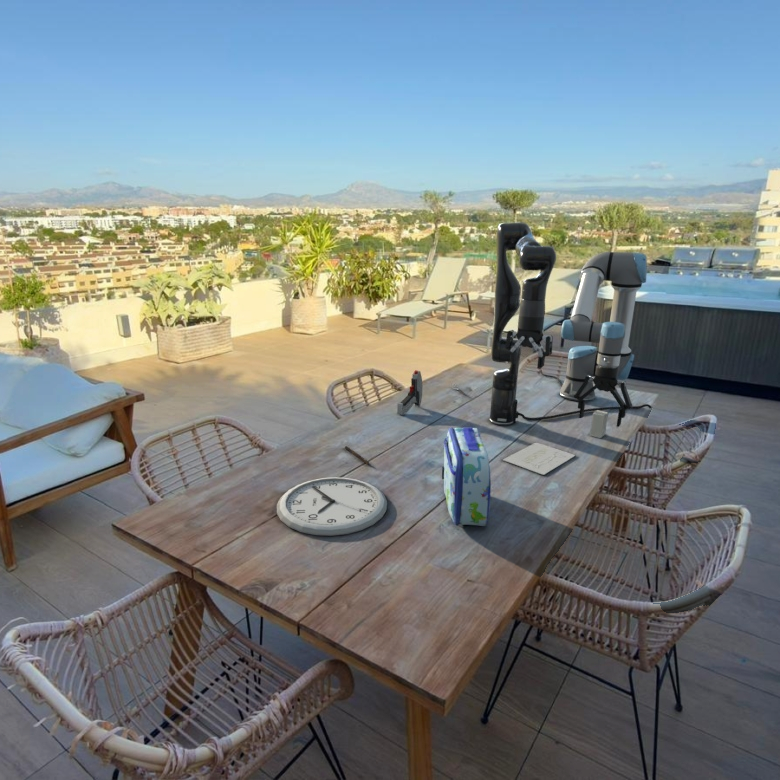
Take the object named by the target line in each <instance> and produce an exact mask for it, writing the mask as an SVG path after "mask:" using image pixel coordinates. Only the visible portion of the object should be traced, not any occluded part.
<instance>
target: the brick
mask: <svg viewBox="0 0 780 780" xmlns="http://www.w3.org/2000/svg"><path fill="white" fill-rule="evenodd" d="M608 415H609V412H608V411H605V410H596V411H593V413H592V419H591V425H590V432H589V436H590V437H595V438H599V439H602V438H603V437H604V436H605V435H606V430H607V422H608Z"/></svg>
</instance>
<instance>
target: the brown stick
mask: <svg viewBox="0 0 780 780" xmlns="http://www.w3.org/2000/svg"><path fill="white" fill-rule="evenodd" d="M344 449H345V450H346V451H348V452H349V453H350V454H352V455H353V456H355V457H356V458H358V459H359V460H361V461H362V462H363V463H364V464H366V465H370V461H368V460H367V459H366V458H364V457H363V456H361V455H360V454H358V453H357V452H356V451H354V450H353V449H352V448H350V447H348V446H347V445H345V446H344Z"/></svg>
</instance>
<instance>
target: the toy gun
mask: <svg viewBox="0 0 780 780" xmlns="http://www.w3.org/2000/svg"><path fill="white" fill-rule="evenodd" d="M411 376H412V377H411V378H410V379H411V381H410V383H411V386H409V391H408V392H407V395H406V396H405V397H404V398H403V399H402V400H401V401H399V402H397V405H396V406H397V407H396V408H397V409H396V410H397V415H401V416H404V415H405V414H406V413H407V412H408V411H409V410H411V409H412V407H413V406H415V407H418V408H421V405H422V399H423V377H422V376H423V375H422V373H421V370H416V369H415V370H414V371H413V373H412V375H411Z"/></svg>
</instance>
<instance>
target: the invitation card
mask: <svg viewBox="0 0 780 780" xmlns="http://www.w3.org/2000/svg"><path fill="white" fill-rule="evenodd" d="M576 456H577V455H576V454H573V453H570V452H567V451H565V450H561V449H558V448H555V447H552V446H549V445H546V444H543V443H539V442H534V443H532V444H529V445H528V446H526V447H524V448H522V449H520V450H518V451H516V452H514V453H512V454H510V455H509V456H507V457H505V458H503V459H502V461H503V462H506V463H509V464H511V465H514V466H518V467H520V468H523V469H525V470H528V471H531V472H534V473H536V474H539V475H541V476H545V475H547V474H548V473H550V472H552V471H554V469H556V468H558V467H559V466H561V465H563V464H564V463H566V462H568V461H570V460H571V459H572V458H574V457H576Z"/></svg>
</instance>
